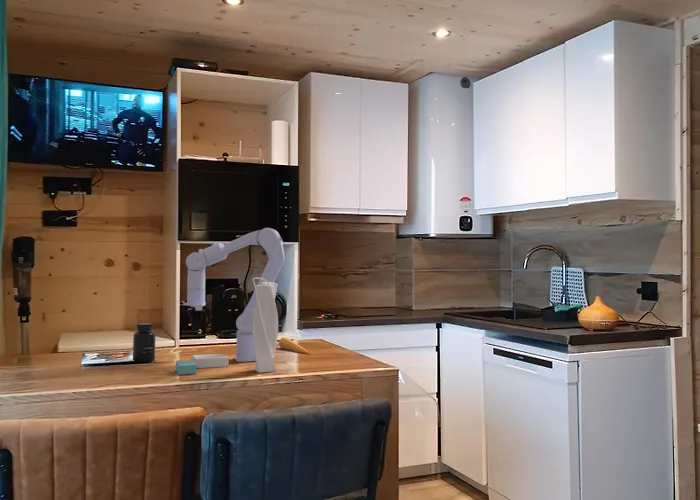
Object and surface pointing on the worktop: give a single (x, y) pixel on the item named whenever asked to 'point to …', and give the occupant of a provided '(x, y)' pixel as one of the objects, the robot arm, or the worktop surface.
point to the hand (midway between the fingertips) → (195, 330)
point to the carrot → (291, 346)
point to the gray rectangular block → (210, 360)
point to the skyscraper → (265, 326)
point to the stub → (186, 367)
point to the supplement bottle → (144, 343)
